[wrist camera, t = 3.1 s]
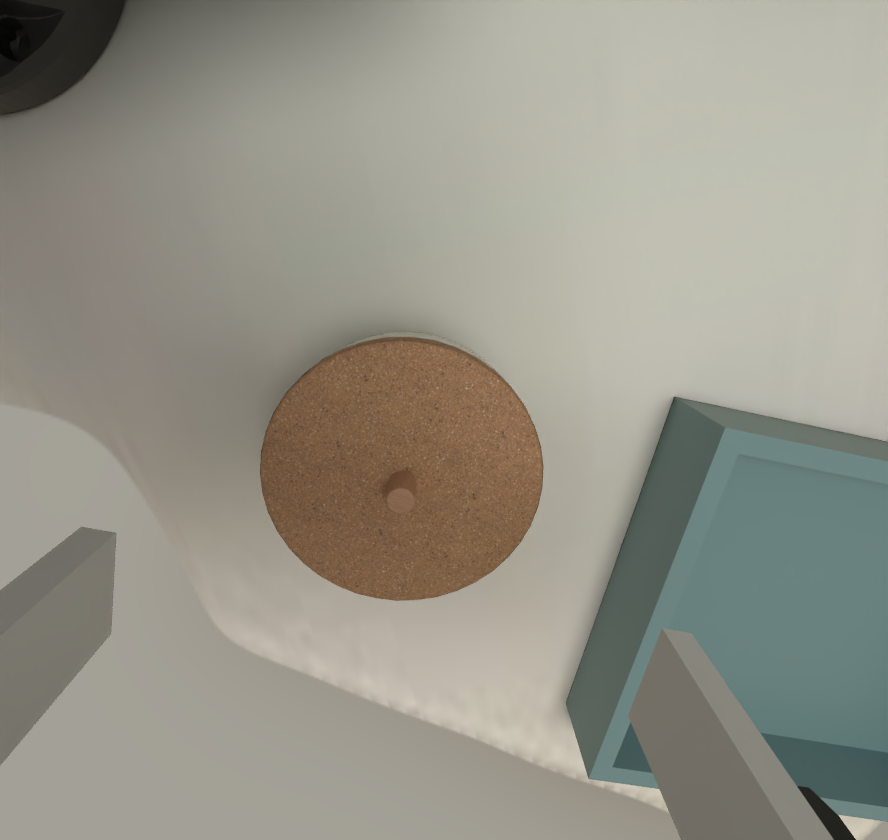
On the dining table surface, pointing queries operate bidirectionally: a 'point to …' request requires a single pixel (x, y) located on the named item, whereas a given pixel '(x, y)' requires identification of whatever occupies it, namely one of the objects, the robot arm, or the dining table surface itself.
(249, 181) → the dining table surface
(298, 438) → the lidded jar
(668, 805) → the robot arm
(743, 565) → the tote
